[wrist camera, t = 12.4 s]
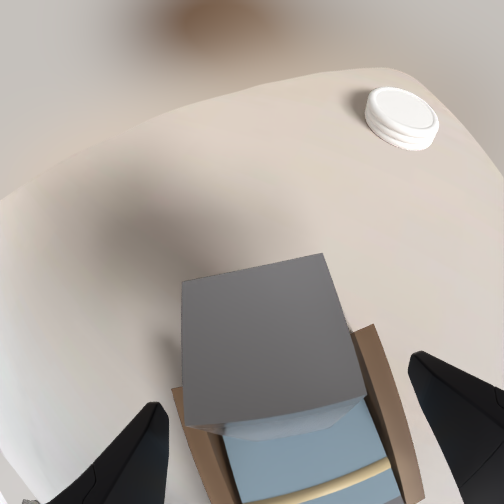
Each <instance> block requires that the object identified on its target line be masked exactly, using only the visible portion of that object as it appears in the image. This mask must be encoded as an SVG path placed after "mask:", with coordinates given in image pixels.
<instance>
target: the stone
mask: <svg viewBox="0 0 504 504" xmlns="http://www.w3.org/2000/svg"><path fill="white" fill-rule="evenodd" d="M181 345H182V384H183V406H184V422H185V426H188V427H191V428H195V429H199V430H203V431H206V432H211V433H215V434H219V435H224V436H228V437H233V438H238V439H243V440H249V441H255V442H258V441H265V440H272V439H279V438H285V437H290V436H296V435H301V434H306V433H310V432H315V431H319V430H324V429H328V428H330V427H332V426H333V425H334V424H335V423H336V422H338V421H339V420H340V419H341V418H342V417H343V416H344V415H346V414H347V413H348V412H349V411H350V410H351V409H352V408H353V407H354V406H356V405H357V404H358V403H359V402H360V401H361V400H362V399H363V398H364V397H365V396H366V395H367V391H366V387H365V384H364V380H363V377H362V373H361V369H360V366H359V362H358V359H357V356H356V352H355V349H354V345H353V342H352V339H351V336H350V332H349V329H348V326H347V323H346V320H345V317H344V314H343V311H342V307H341V304H340V301H339V298H338V295H337V293H336V290H335V287H334V284H333V281H332V278H331V275H330V272H329V270H328V267H327V264H326V261H325V258H324V256H323V253H319V254H315V255H310V256H305V257H301V258H296V259H291V260H287V261H282V262H277V263H273V264H268V265H263V266H258V267H253V268H248V269H244V270H239V271H234V272H229V273H224V274H219V275H214V276H209V277H204V278H199V279H194V280H189V281H184V282H182V307H181Z"/></svg>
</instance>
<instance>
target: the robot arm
mask: <svg viewBox="0 0 504 504" xmlns="http://www.w3.org/2000/svg"><path fill="white" fill-rule="evenodd" d="M408 375H409V378H410V380H411V383H412V385H413V388H414V391H415V393H416V396H417V399H418V401H419V404H420V406H421V409H422V411H423V413H424V415H425V417H426V419H427V421H428V423H429V425H430V427H431V429H432V431H433V433H434V435H435V437H436V439H437V441H438V443H439V446H440V448H441V450H442V452H443V454H444V456H445V459H446V461H447V463H448V465H449V468H450V470H451V472H452V475H453V477H454V479H455V482H456V484H457V486H458V488H459V492H460V494H461V497H462V499H463V502H464V504H504V390H501V389H499V388H497V387H494V386H493V385H491V384H489V383H487V382H485V381H483V380H481V379H479V378H477V377H475V376H473V375H471V374H468V373H466V372H464V371H462V370H460V369H458V368H456V367H454V366H452V365H450V364H448V363H446V362H444V361H442V360H440V359H438V358H436V357H434V356H432V355H430V354H428V353H426V352H424V351H418V352H415V353H413V354H412V355H411V358H410V362H409V367H408ZM168 459H169V418H168V415H167V413H166V412H165V410H164V408H163V407H162V405H161V404H160V403H159V402H148V403H147V404H146V405H145V406H144V407H143V408H142V410H141V411H140V412H139V413H138V414H137V415H136V416H135V417H134V418H133V420H132V421H131V422H130V423H129V424H128V425H127V426H126V427H125V428H124V430H123V431H122V432H121V433H120V434H119V435H118V436H117V437H116V438H115V439H114V440H113V442H112V443H111V444H110V445H109V446H108V447H107V448H106V449H105V450H104V451H103V452H102V454H101V455H100V456H99V457H98V458H97V459H96V460H95V461H94V462H93V464H91V465H90V466H89V467H88V468H87V470H86V471H85V472H84V473H83V474H82V475H81V476H80V477H79V478H78V479H76V480H75V481H74V482H73V483H72V484H71V485H70V486H68V487H67V488H66V489H65V490H64V491H62V492H61V493H60V494H59V495H57V496H56V497H55V498H54V499H52V500H51V501H50V502H48V503H46V504H164V498H165V488H166V478H167V469H168Z"/></svg>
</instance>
